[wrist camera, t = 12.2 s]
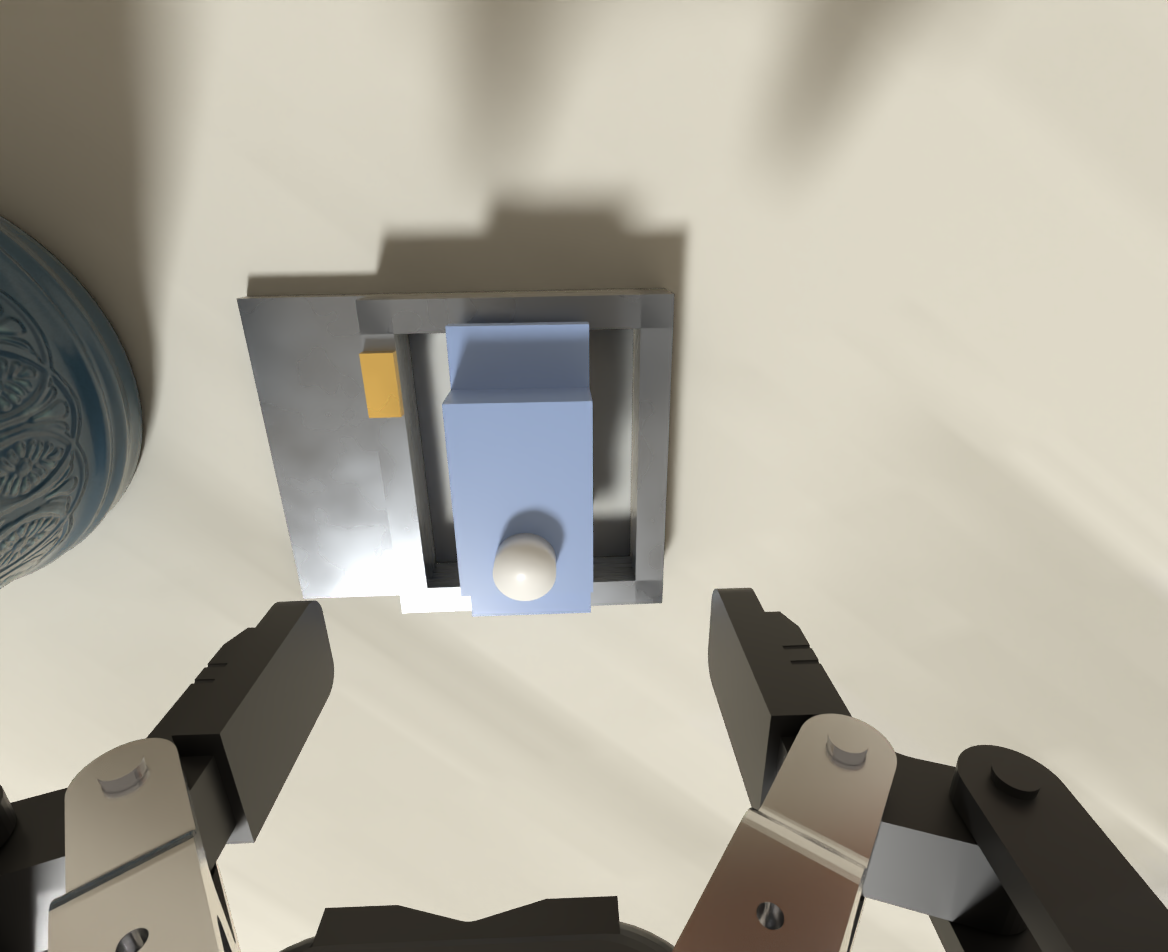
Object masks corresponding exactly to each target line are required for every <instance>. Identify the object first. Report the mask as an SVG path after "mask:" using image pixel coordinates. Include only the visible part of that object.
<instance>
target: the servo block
mask: <svg viewBox="0 0 1168 952" xmlns="http://www.w3.org/2000/svg"><path fill="white" fill-rule="evenodd" d="M445 328H446V339H447V350H448V361H449V371H450V382H451V391H450V393H449V394H448V396H447V397H446V399H445V400H444V402H443V404H442V409H443V419H444V429H445V439H446V449H447V459H448V469H449V479H450V489H451V499H452V509H453V519H454V529H455V539H456V549H457V559H458V569H459V579H460V589H461V597H467V596H470V597H471V608H472V616H499V615H529V614H558V613H588V612H591V592H593V403H592V397H591V392H590V388H589V323H588V322H537V323H472V324H448V325H446V326H445Z"/></svg>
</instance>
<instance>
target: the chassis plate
mask: <svg viewBox="0 0 1168 952" xmlns="http://www.w3.org/2000/svg"><path fill="white" fill-rule="evenodd" d="M237 302H238V307H239V311H240V316H241V320H242V325H243V329H244V334H245V338H246V343H247V347H248V352H249V356H250V361H251V365H252V370H253V374H254V379H255V383H256V388H257V392H258V396H259V401H260V405H261V410H262V414H263V419H264V423H265V428H266V432H267V437H268V441H269V446H270V450H271V455H272V459H273V464H274V468H275V473H276V477H277V482H278V486H279V491H280V495H281V500H282V504H283V509H284V513H285V518H286V522H287V527H288V531H289V536H290V540H291V545H292V549H293V554H294V558H295V563H296V567H297V572H298V576H299V581H300V585H301V590H302V594H303V599H306V598H332V597H359V596H386V595H400V599H401V606H402V613H415V612H441V611H467V610H472V608H471V597H470V596H467V597H461V589H460V579H459V569H458V562H446V563H436V557H435V549H434V541H433V533H432V525H431V517H430V508H429V500H428V492H427V484H426V476H425V467H424V459H423V451H422V443H421V435H420V426H419V418H418V410H417V402H416V394H415V386H414V377H413V369H412V361H411V353H410V345H409V336H408V334H411V333H446V328H445V326H446V325H448V324H472V323H537V322H588V323H589V330H594V329H633V391H632V453H631V516H630V556H615V557H593V592H591V606H597V605H623V604H649V603H662V591H663V566H664V541H665V516H666V492H667V467H668V442H669V417H670V392H671V367H672V342H673V317H674V293H672V292H670V291H668V290H666V289H665V288H661V289H610V290H559V291H507V292H456V293H405V294H353V295H302V296H251V297H242V298H237Z"/></svg>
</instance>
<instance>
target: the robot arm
mask: <svg viewBox="0 0 1168 952" xmlns="http://www.w3.org/2000/svg"><path fill="white" fill-rule="evenodd" d="M708 664H709V672H710V678H711V682H712V686H713V689H714V692H715V695H716V698H717V701H718V704H719V707H720V710H721V713H722V716H723V720H724V723H725V726H726V729H727V732H728V735H729V738H730V741H731V744H732V747H733V750H734V754H735V757H736V760H737V763H738V766H739V769H740V772H741V775H742V778H743V781H744V785H745V788H746V791H747V794H748V797H749V800H750V803H751V806H752V808H750V809H749V810H748V811H747V812H746V813H745V815H744V816H743V818H742V820H741V822H740V824H739V825H738V827H737V829H736V831H735V833H734V835H733V837H732V839H731V841H730V843H729V844H728V846H727V848H726V850H725V852H724V854H723V856H722V858H721V860H720V862H719V863H718V865H717V867H716V869H715V871H714V873H713V875H712V877H711V879H710V880H709V882H708V884H707V886H706V888H705V890H704V892H703V894H702V896H701V898H700V899H699V901H698V903H697V905H696V907H695V909H694V911H693V913H692V915H691V916H690V918H689V920H688V922H687V924H686V926H685V928H684V930H683V932H682V934H681V935H680V937H679V939H678V941H677V943H676V945H675V947H674V946H673V945H671V944H670V943H669V942H667V941H665V940H664V939H662V938H660V937H658V936H656V935H654V934H653V933H651V932H649V931H646V930H644V929H641V928H639V927H636V926H634V925H630V924H626V923H623V922H619V912H618V899H617V896H608V897H584V898H559V899H545V900H541V901H538V902H535V903H532V904H529V905H525V906H522V907H519V908H516V909H512V910H509V911H506V912H503V913H500V914H496V915H493V916H490V917H487V918H483V919H480V920H477V921H472V922H464V921H459V920H455V919H451V918H447V917H443V916H439V915H435V914H431V913H427V912H423V911H419V910H415V909H411V908H407V907H403V906H399V905H389V906H365V907H341V908H325V911H324V914H323V916H322V919H321V922H320V925H319V928H318V930H317V933H316V936H315V937H312V938H308V939H306V940H303V941H301V942H299V943H296V944H294V945H292V946H289V947H287V948H286V949H284V950H282V951H280V952H851V950H852V946H853V943H854V939H855V936H856V932H857V928H858V925H859V921H860V918H861V914H862V911H863V907H864V904H865V900H866V897H867V898H871V899H874V900H878V901H881V902H885V903H888V904H892V905H895V906H899V907H903V908H906V909H910V910H913V911H917V912H920V913H924V914H927V915H929V917H930V919H931V921H932V923H933V926H934V928H935V930H936V932H937V934H938V936H939V938H940V940H941V942H942V945H943V947H944V949H945V951H946V952H1168V909H1167V908H1166V907H1165V906H1164V904H1163V903H1162V902H1161V901H1160V900H1159V898H1158V897H1157V896H1156V895H1155V894H1154V892H1153V891H1152V890H1151V889H1150V888H1149V886H1148V885H1147V884H1146V883H1145V882H1144V880H1143V879H1142V878H1141V877H1140V875H1139V874H1138V873H1137V872H1136V871H1135V869H1134V868H1133V867H1132V866H1131V865H1130V863H1129V862H1128V861H1127V860H1126V859H1125V857H1124V856H1123V855H1122V854H1121V852H1120V851H1119V850H1118V849H1117V848H1116V846H1115V845H1114V844H1113V843H1112V842H1111V840H1110V839H1109V838H1108V837H1107V836H1106V834H1105V833H1104V832H1103V831H1102V830H1101V828H1100V827H1099V826H1098V825H1097V823H1096V822H1095V821H1094V820H1093V819H1092V817H1091V816H1090V815H1089V814H1088V813H1087V811H1086V810H1085V809H1084V808H1083V807H1082V805H1081V804H1080V803H1079V802H1078V801H1077V799H1076V798H1075V797H1074V796H1073V794H1072V793H1071V792H1070V791H1069V790H1068V788H1067V787H1066V786H1065V785H1064V784H1063V783H1062V781H1061V780H1060V779H1059V778H1058V777H1057V776H1056V775H1055V774H1053V773H1052V772H1051V771H1050V770H1049V769H1047V768H1046V767H1044V766H1043V765H1042V764H1040V763H1038V762H1037V761H1035V760H1033V759H1032V758H1030V757H1028V756H1026V755H1024V754H1021V753H1019V752H1016V751H1014V750H1011V749H1007V748H1004V747H999V746H993V745H977V746H973V747H970V748H968V749H965V750H964V751H963V752H962V753H961V754H960V756H959V758H958V761H957V765H956V767H953V766H948V765H943V764H939V763H934V762H929V761H925V760H920V759H915V758H912V757H908V756H904V755H902V754H899V753H896V752H895V751H894V749H893V747H892V745H891V744H890V742H889V741H888V740H887V739H886V737H884V736H883V735H882V734H881V733H880V732H879V731H878V730H876V729H875V728H874V727H872V726H870V725H869V724H867V723H865V722H863V721H861V720H859V719H856V718H853V717H852V716H851V714H850V713H849V711H848V709H847V707H846V706H845V704H844V702H843V701H842V699H841V697H840V696H839V694H838V692H837V690H836V689H835V687H834V685H833V684H832V682H831V680H830V679H829V677H828V675H827V674H826V672H825V670H824V668H823V667H822V665H821V664H819V662H818V658H817V657H816V655H815V653H814V651H813V650H812V648H810V645H809V643H808V641H807V640H806V638H805V636H804V635H803V633H802V631H801V629H800V628H799V626H797V625H796V624H795V623H793V622H792V621H791V620H790V619H788V618H787V617H786V616H785V615H783V614H782V613H781V612H764V610H763V608H762V606H761V604H760V602H759V600H758V598H757V596H756V595H755V593H754V591H753V589H752V588H729V589H714V591H713V594H712V603H711V617H710V632H709V646H708ZM333 679H334V663H333V658H332V653H331V649H330V644H329V639H328V635H327V630H326V625H325V620H324V616H323V611H322V608H321V605H320V604H319V603H318V602H317V601H289V602H277V603H275V604H274V605H273V606H272V607H271V608H270V610H269V611H268V612H267V614H266V615H265V616H264V617H263V619H262V620H261V621H260V623H259V624H258V625H257V626H256V628H247V629H246V630H244V631H243V632H241V633H240V634H238V635H237V636H235V637H234V638H233V639H231V640H230V641H228V642H227V643H225V644H224V645H223V646H222V647H221V649H220V650H219V651H218V652H217V653H216V655H215V656H214V657H213V658H212V659H211V661H210V662H209V663H208V667H207V668H204V669H203V670H202V671H201V673H200V674H199V675H198V676H197V678H196V679H195V683H194V684H191V685H190V686H189V687H188V688H187V690H186V691H185V692H184V693H183V694H182V696H181V697H180V698H179V699H178V701H177V702H176V703H175V704H174V705H173V707H172V708H171V709H170V710H169V711H168V713H167V714H166V715H165V716H164V717H163V719H162V720H161V721H160V722H159V723H158V725H157V726H156V727H155V728H154V730H153V731H152V732H151V733H150V734H149V736H148V737H147V738H146V739H140V740H136V741H132V742H129V743H126V744H123V745H121V746H118V747H116V748H114V749H112V750H110V751H108V752H106V753H104V754H103V755H101V756H99V757H98V758H96V759H95V760H93V761H92V762H91V763H89V764H88V765H87V766H86V767H84V768H83V769H82V770H81V771H80V772H79V773H78V774H77V775H76V777H75V778H74V779H73V780H72V782H71V783H70V785H69V786H68V788H65V789H61V790H57V791H54V792H50V793H46V794H42V795H39V796H35V797H31V798H27V799H24V800H20V801H16V802H12V803H10V802H9V800H8V798H7V796H6V794H5V792H4V790H3V788H2V786H1V785H0V952H241V951H240V947H239V943H238V939H237V935H236V931H235V927H234V923H233V919H232V915H231V912H230V908H229V904H228V900H227V896H226V892H225V888H224V884H223V880H222V876H221V873H220V869H219V867H218V864H217V859H218V857H219V855H220V854H221V852H222V850H223V848H224V846H225V845H226V844H236V843H254V842H255V840H256V838H257V836H258V834H259V832H260V830H261V828H262V826H263V824H264V822H265V820H266V819H267V817H268V815H269V813H270V811H271V809H272V807H273V805H274V803H275V801H276V799H277V797H278V795H279V793H280V791H281V789H282V787H283V785H284V783H285V781H286V779H287V777H288V775H289V773H290V771H291V769H292V767H293V766H294V764H295V762H296V760H297V758H298V756H299V754H300V752H301V750H302V748H303V746H304V744H305V742H306V740H307V738H308V736H309V734H310V732H311V730H312V728H313V726H314V724H315V722H316V720H317V718H318V716H319V714H320V713H321V711H322V709H323V707H324V705H325V703H326V701H327V699H328V697H329V695H330V692H331V689H332V685H333Z"/></svg>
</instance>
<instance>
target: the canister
mask: <svg viewBox="0 0 1168 952" xmlns="http://www.w3.org/2000/svg"><path fill="white" fill-rule="evenodd" d="M141 442H142V411H141V403H140V398H139V392H138V388H137V384H136V380H135V377H134V374H133V371H132V368H131V365H130V362H129V360H128V358H127V355H126V353H125V351H124V348H123V346H122V344H121V342H120V340H119V338H118V336H117V334H116V333H115V331H114V329H113V328H112V326H111V324H110V322H109V321H108V319H107V318H106V316H105V315H104V313H103V312H102V310H101V309H100V307H99V306H98V304H97V303H96V302H95V301H94V299H93V298H92V297H91V295H90V294H89V293H88V291H87V290H86V289H85V288H84V287H83V286H82V284H81V283H80V282H79V281H78V280H77V279H76V278H75V276H74V275H73V274H72V273H71V272H70V271H69V270H68V269H67V268H66V267H65V266H64V265H63V264H62V263H61V262H60V261H59V260H58V259H57V258H55V257H54V256H53V255H52V254H51V253H50V252H49V251H48V250H47V249H46V248H44V247H43V246H42V245H41V244H39V243H38V242H37V241H36V240H34V239H33V238H32V237H31V236H29V235H28V234H26V233H25V232H24V231H22V230H21V229H20V228H18V227H17V226H15V225H14V224H12V223H11V222H9V221H8V220H6V219H4V218H3V217H1V216H0V589H1V588H2V587H4V586H6V585H7V584H9V583H10V582H12V581H13V580H16V579H18V578H21V577H24V576H26V575H29V574H31V573H33V572H35V571H37V570H39V569H41V568H43V567H45V566H47V565H48V564H50V563H52V562H53V561H55V560H56V559H58V558H59V557H60V556H62V555H63V554H64V553H66V552H67V551H69V550H71V549H72V548H74V547H75V546H76V545H78V544H79V543H80V542H82V541H83V540H84V539H85V538H86V537H87V536H88V535H89V534H90V533H91V532H92V531H93V530H94V529H95V528H96V527H97V526H98V525H99V524H100V522H101V521H102V520H103V519H104V517H105V516H106V514H107V513H108V512H109V511H110V510H111V509H112V508H113V507H114V506H115V505H116V504H117V502H118V501H119V500H120V498H121V497H122V496H123V494H124V493H125V491H126V489H127V487H128V486H129V484H130V482H131V480H132V477H133V475H134V472H135V470H136V466H137V463H138V460H139V455H140V450H141Z"/></svg>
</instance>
